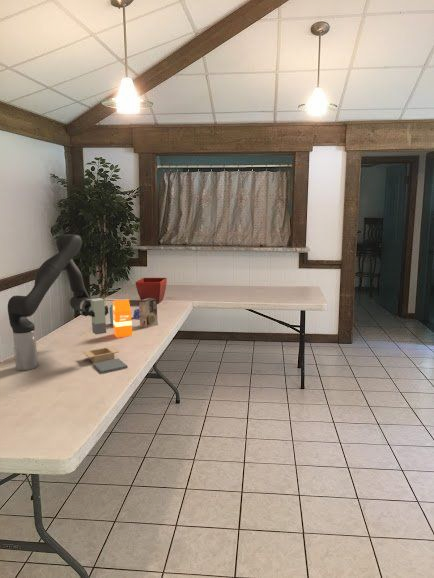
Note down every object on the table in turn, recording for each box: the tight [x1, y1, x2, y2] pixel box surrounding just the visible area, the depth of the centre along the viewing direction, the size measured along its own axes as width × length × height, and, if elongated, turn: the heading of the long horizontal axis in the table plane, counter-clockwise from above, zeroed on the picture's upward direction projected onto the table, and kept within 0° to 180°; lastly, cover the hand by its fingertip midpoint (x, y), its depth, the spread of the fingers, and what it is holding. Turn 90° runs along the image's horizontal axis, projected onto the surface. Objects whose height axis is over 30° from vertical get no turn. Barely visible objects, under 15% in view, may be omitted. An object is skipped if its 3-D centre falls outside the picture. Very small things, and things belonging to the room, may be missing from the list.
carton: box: [82, 346, 120, 364], centre depth 219 cm, size 15×10×4 cm, turn 122°
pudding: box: [131, 308, 140, 320], centre depth 298 cm, size 12×12×5 cm
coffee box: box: [138, 298, 159, 329], centre depth 276 cm, size 9×6×16 cm
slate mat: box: [92, 358, 128, 374], centre depth 208 cm, size 12×12×1 cm
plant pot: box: [135, 277, 168, 304], centre depth 342 cm, size 19×19×17 cm
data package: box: [109, 304, 114, 326], centre depth 281 cm, size 12×4×12 cm, turn 96°
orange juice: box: [112, 298, 133, 338], centre depth 257 cm, size 8×9×20 cm
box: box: [90, 297, 107, 335], centre depth 215 cm, size 5×5×16 cm
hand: (100, 314), depth 213 cm, fingers closed on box, 5 cm apart
